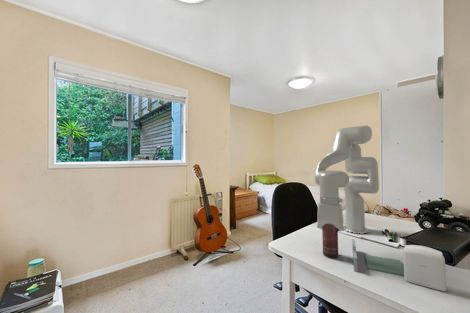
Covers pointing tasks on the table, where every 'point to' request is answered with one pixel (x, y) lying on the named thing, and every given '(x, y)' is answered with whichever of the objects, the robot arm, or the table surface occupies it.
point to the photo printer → (424, 267)
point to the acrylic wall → (354, 255)
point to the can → (330, 241)
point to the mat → (384, 265)
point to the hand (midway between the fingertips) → (330, 242)
